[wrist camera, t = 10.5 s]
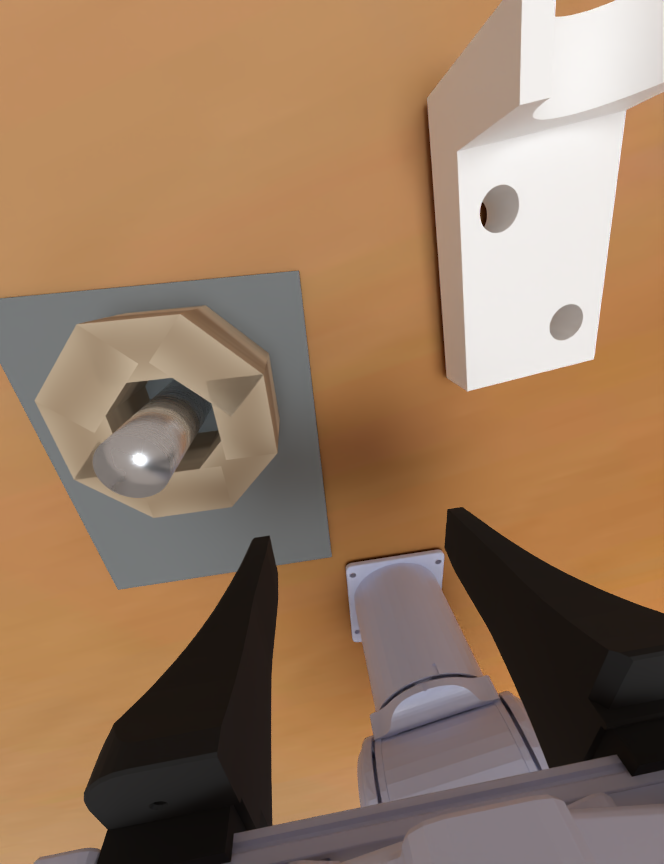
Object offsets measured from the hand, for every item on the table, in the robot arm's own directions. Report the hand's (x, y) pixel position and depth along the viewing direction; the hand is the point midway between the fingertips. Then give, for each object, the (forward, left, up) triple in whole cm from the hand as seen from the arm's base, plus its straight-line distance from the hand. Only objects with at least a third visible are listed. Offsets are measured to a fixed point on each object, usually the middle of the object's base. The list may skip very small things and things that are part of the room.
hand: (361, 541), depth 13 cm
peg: (+4, +8, -9) cm, 13 cm away
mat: (0, +9, -9) cm, 13 cm away
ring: (+4, +8, -9) cm, 13 cm away
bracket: (+10, -10, -10) cm, 17 cm away
